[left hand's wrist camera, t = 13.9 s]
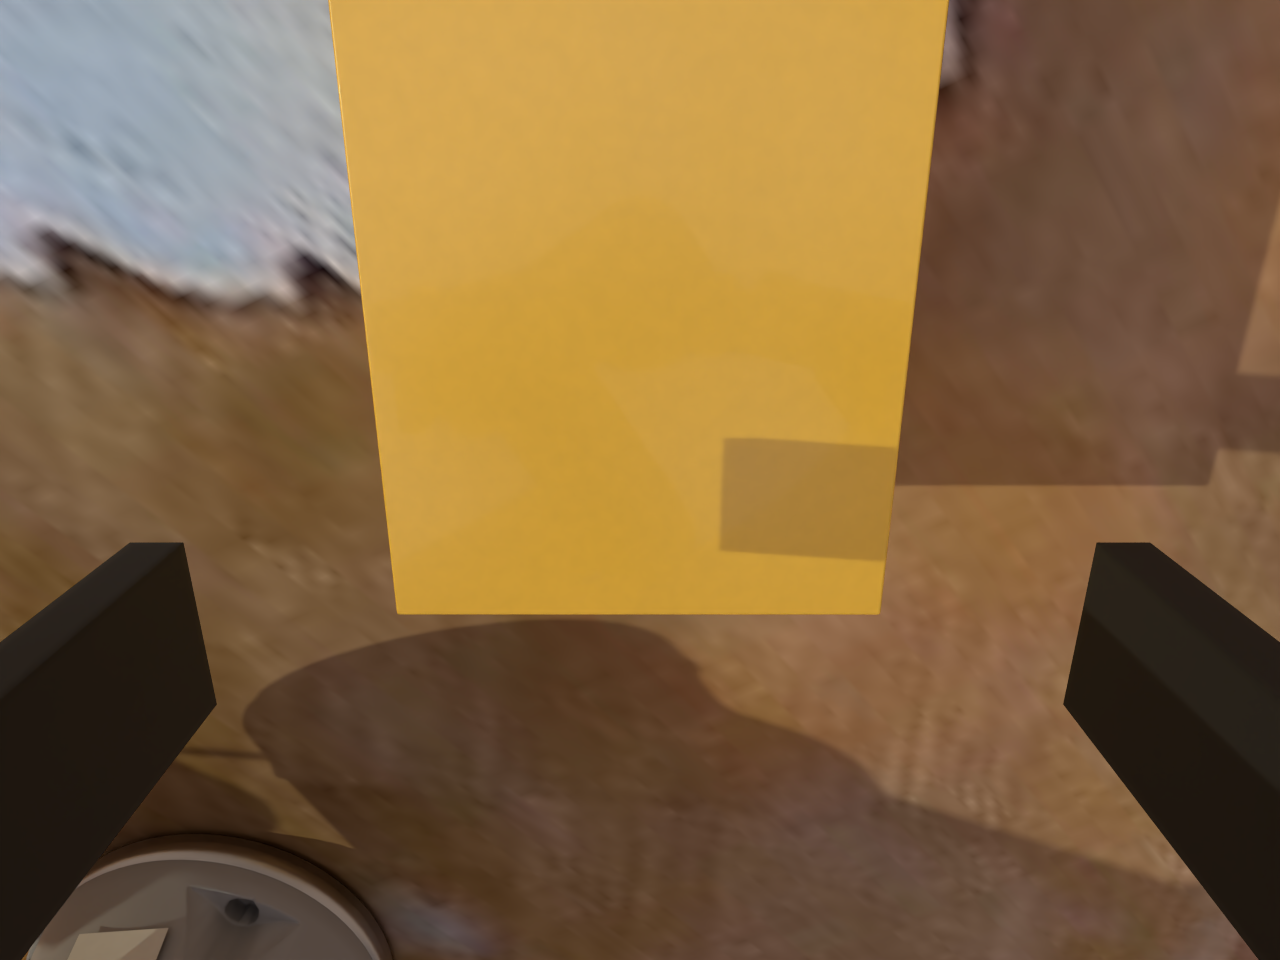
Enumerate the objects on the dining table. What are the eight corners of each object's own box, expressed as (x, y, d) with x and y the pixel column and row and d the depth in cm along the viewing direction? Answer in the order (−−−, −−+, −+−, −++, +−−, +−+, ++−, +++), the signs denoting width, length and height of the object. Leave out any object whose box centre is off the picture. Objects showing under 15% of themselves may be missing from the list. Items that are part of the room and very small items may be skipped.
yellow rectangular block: (424, -324, 23) (246, -721, 13) (853, -324, 23) (1031, -720, 13) (479, 458, 31) (396, 615, 20) (798, 458, 31) (880, 615, 20)
